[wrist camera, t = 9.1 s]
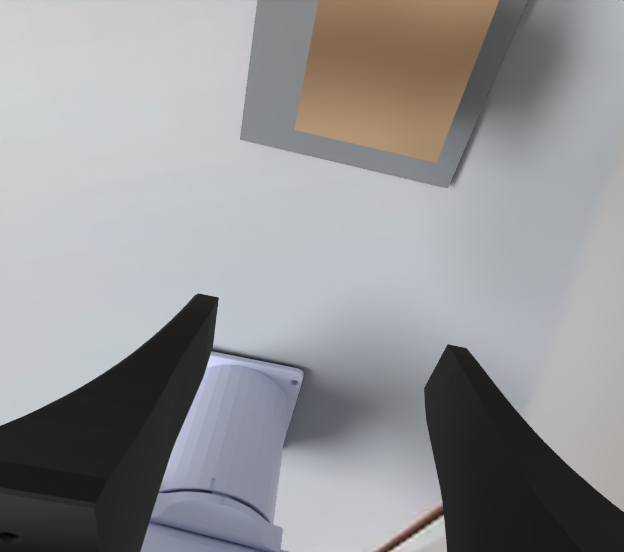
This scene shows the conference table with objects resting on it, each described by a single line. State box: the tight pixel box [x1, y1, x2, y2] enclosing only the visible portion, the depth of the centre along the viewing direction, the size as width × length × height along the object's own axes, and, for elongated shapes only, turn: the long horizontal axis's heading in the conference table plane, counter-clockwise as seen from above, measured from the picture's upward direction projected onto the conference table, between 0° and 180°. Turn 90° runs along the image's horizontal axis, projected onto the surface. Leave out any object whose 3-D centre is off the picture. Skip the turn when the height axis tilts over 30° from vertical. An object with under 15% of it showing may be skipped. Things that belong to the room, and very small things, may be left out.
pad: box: [240, 0, 528, 188], centre depth 18 cm, size 10×10×1 cm
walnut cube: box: [294, 0, 499, 163], centre depth 16 cm, size 5×5×5 cm
